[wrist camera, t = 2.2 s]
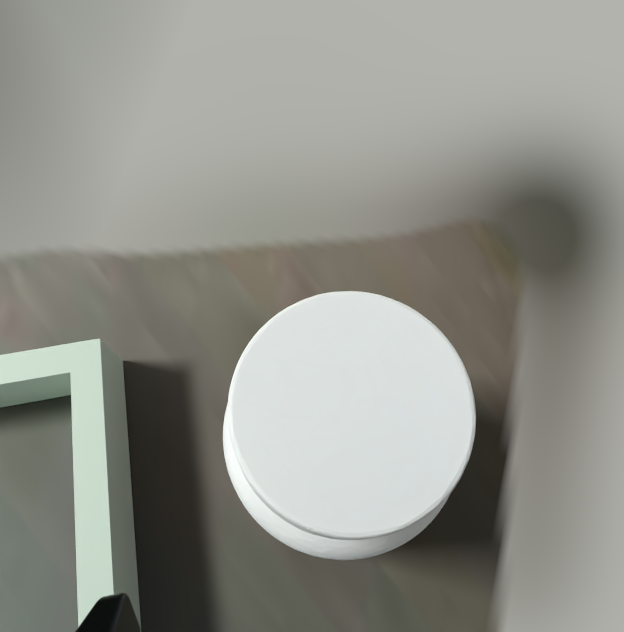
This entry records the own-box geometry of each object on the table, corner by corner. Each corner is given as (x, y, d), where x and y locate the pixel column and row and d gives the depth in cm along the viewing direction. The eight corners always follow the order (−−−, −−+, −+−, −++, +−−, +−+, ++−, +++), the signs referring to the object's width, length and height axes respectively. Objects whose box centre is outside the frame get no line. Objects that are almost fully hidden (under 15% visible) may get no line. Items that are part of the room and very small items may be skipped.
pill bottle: (279, 364, 21) (262, 229, 11) (424, 410, 20) (531, 307, 11) (224, 518, 19) (150, 507, 9) (385, 573, 18) (475, 620, 9)
